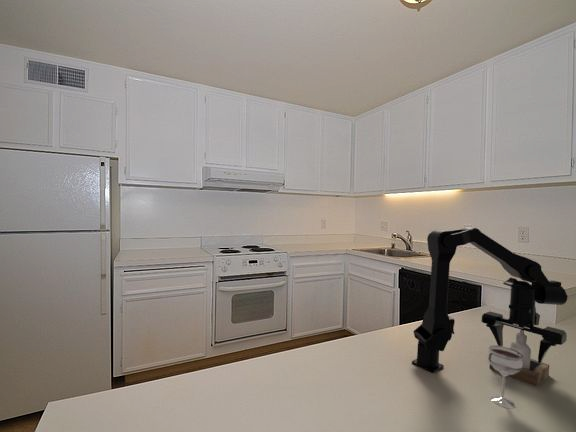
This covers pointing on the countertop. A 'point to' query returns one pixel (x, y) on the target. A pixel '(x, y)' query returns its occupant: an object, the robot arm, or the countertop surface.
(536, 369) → the rubber-lined collar
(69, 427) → the countertop surface
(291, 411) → the countertop surface
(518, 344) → the eye dropper bottle
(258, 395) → the countertop surface
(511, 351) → the wineglass
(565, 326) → the countertop surface
